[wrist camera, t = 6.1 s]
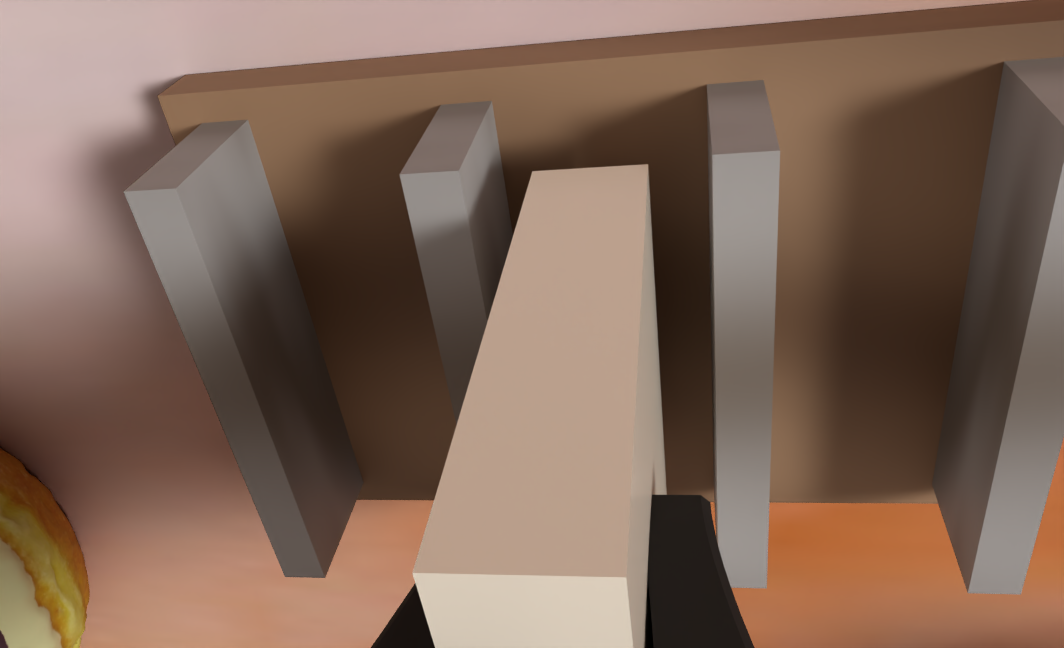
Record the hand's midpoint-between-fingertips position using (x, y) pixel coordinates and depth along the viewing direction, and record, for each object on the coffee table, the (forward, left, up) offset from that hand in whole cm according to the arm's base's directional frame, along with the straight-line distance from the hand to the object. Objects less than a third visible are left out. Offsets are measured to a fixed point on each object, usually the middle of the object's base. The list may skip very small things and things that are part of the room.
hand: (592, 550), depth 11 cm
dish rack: (0, 0, -6) cm, 6 cm away
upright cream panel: (0, 0, -4) cm, 4 cm away
